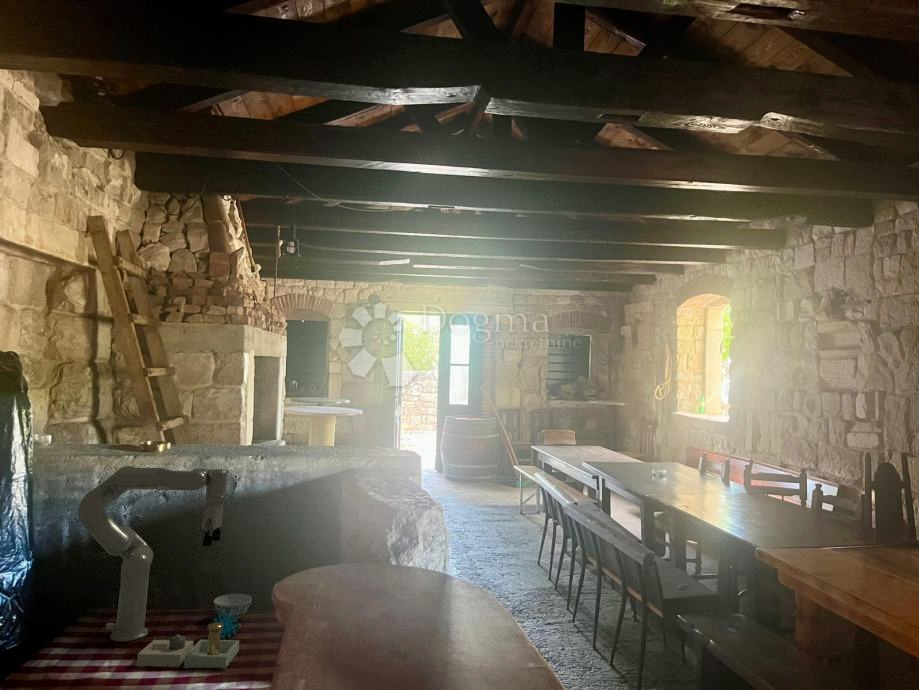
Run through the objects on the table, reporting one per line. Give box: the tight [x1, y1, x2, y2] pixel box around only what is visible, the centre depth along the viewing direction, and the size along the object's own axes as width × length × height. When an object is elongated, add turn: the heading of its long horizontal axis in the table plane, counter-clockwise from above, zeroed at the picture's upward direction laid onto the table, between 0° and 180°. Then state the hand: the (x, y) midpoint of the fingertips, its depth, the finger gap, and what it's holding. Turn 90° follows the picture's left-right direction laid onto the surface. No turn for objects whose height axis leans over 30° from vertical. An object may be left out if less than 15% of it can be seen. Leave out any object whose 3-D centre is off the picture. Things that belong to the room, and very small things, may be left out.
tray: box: [183, 639, 240, 670], centre depth 204 cm, size 14×14×4 cm
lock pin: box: [207, 621, 223, 655], centre depth 204 cm, size 5×5×11 cm
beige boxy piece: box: [136, 634, 194, 668], centre depth 203 cm, size 14×12×8 cm
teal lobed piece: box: [212, 613, 242, 640], centre depth 226 cm, size 11×6×10 cm
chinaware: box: [213, 593, 253, 620], centre depth 243 cm, size 15×15×8 cm
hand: (211, 543), depth 234 cm, fingers open, 9 cm apart
